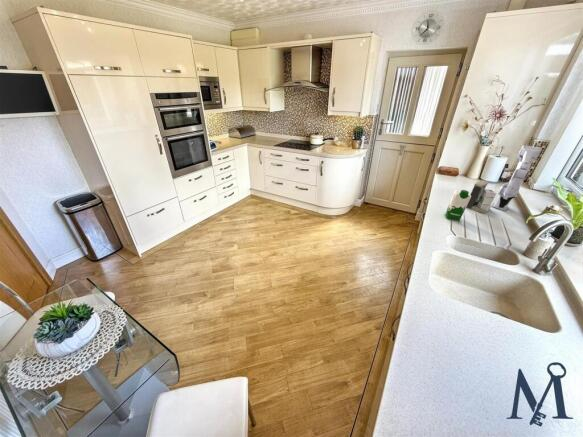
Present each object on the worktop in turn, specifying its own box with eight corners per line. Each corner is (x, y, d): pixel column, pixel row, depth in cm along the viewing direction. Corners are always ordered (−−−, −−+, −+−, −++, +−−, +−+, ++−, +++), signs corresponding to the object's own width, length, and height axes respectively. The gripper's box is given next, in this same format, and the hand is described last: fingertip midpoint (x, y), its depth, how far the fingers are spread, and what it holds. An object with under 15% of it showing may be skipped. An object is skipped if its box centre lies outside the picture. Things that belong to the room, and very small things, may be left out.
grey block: (470, 202, 177) (481, 180, 168) (489, 208, 169) (502, 185, 160) (463, 207, 170) (474, 183, 161) (483, 213, 162) (496, 189, 152)
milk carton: (445, 219, 153) (457, 191, 143) (443, 213, 160) (455, 186, 150) (460, 222, 150) (474, 194, 140) (458, 216, 157) (471, 188, 147)
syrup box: (487, 211, 165) (497, 193, 157) (478, 210, 166) (487, 191, 158) (483, 208, 170) (493, 189, 162) (474, 207, 170) (483, 188, 163)
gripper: (517, 192, 144) (506, 211, 151) (523, 187, 152) (512, 205, 159) (503, 188, 149) (493, 207, 155) (510, 183, 157) (500, 201, 163)
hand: (502, 206), depth 157 cm, fingers open, 7 cm apart
